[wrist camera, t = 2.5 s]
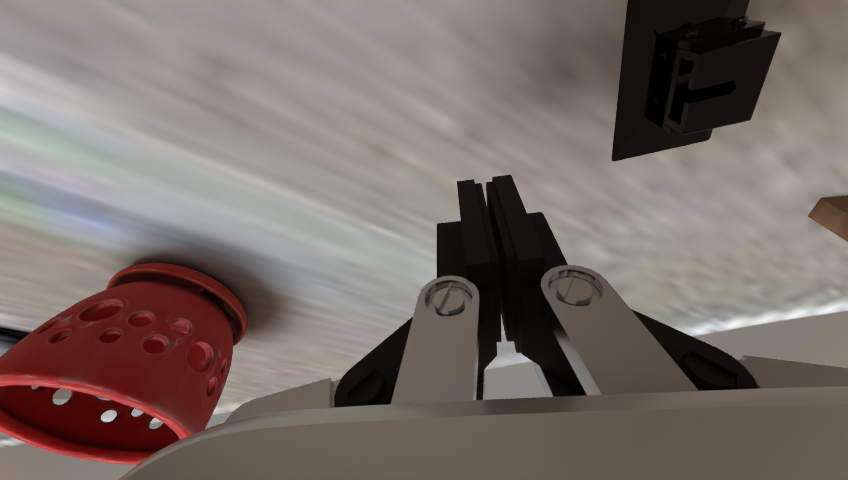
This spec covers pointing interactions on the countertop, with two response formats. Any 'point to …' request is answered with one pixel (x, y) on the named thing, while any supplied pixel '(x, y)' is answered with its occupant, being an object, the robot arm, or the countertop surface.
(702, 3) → the black piece
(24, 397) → the plant pot
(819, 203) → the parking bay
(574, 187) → the countertop surface
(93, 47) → the countertop surface
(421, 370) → the robot arm
